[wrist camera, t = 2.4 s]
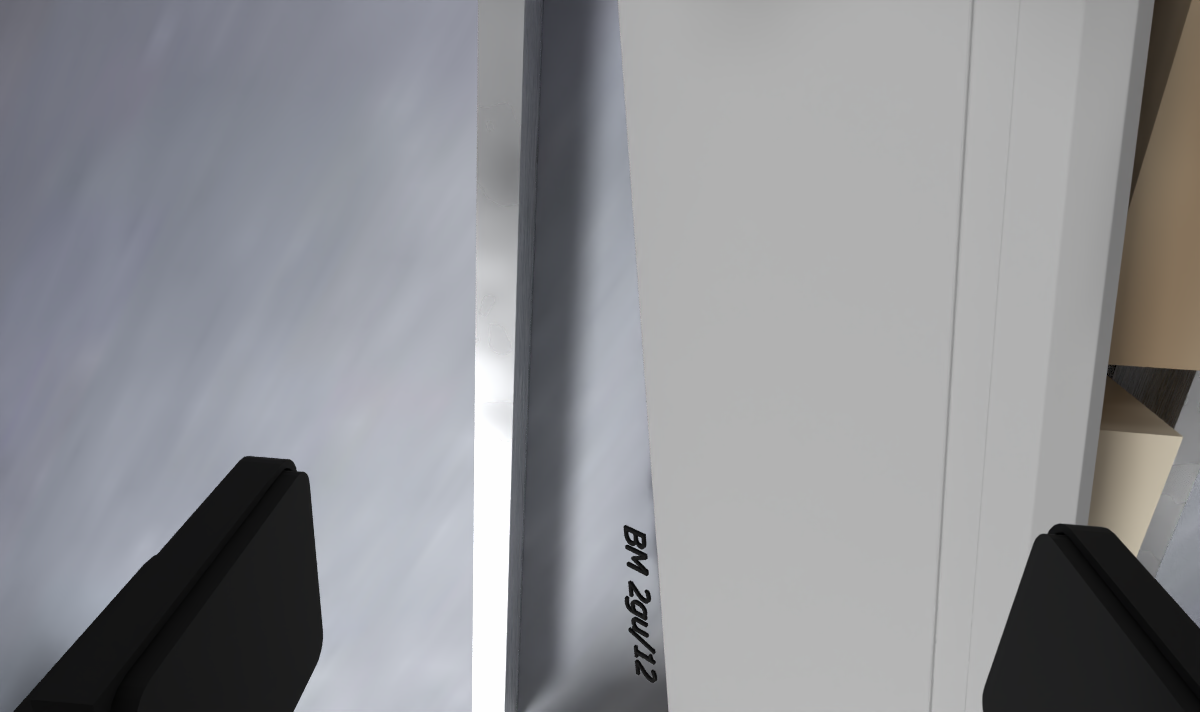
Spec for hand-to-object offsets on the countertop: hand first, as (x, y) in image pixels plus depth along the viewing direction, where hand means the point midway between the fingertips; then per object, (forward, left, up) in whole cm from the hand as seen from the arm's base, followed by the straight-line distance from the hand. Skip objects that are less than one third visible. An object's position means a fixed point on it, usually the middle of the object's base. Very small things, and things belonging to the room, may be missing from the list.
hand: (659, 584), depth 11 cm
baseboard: (+1, 0, -14) cm, 14 cm away
